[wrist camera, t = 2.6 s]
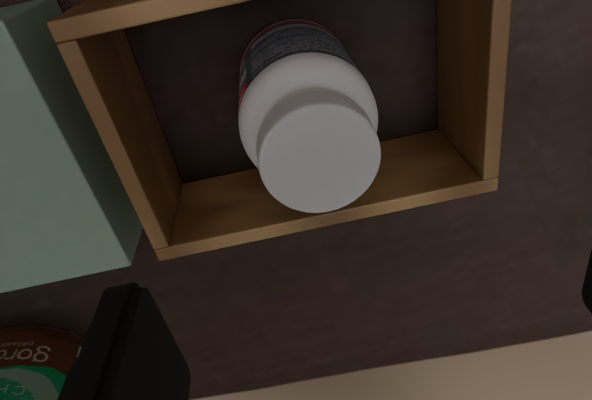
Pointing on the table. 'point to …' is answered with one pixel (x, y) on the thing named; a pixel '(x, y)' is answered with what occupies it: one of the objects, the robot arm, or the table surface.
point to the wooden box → (248, 184)
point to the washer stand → (53, 165)
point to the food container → (35, 361)
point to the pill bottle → (307, 117)
